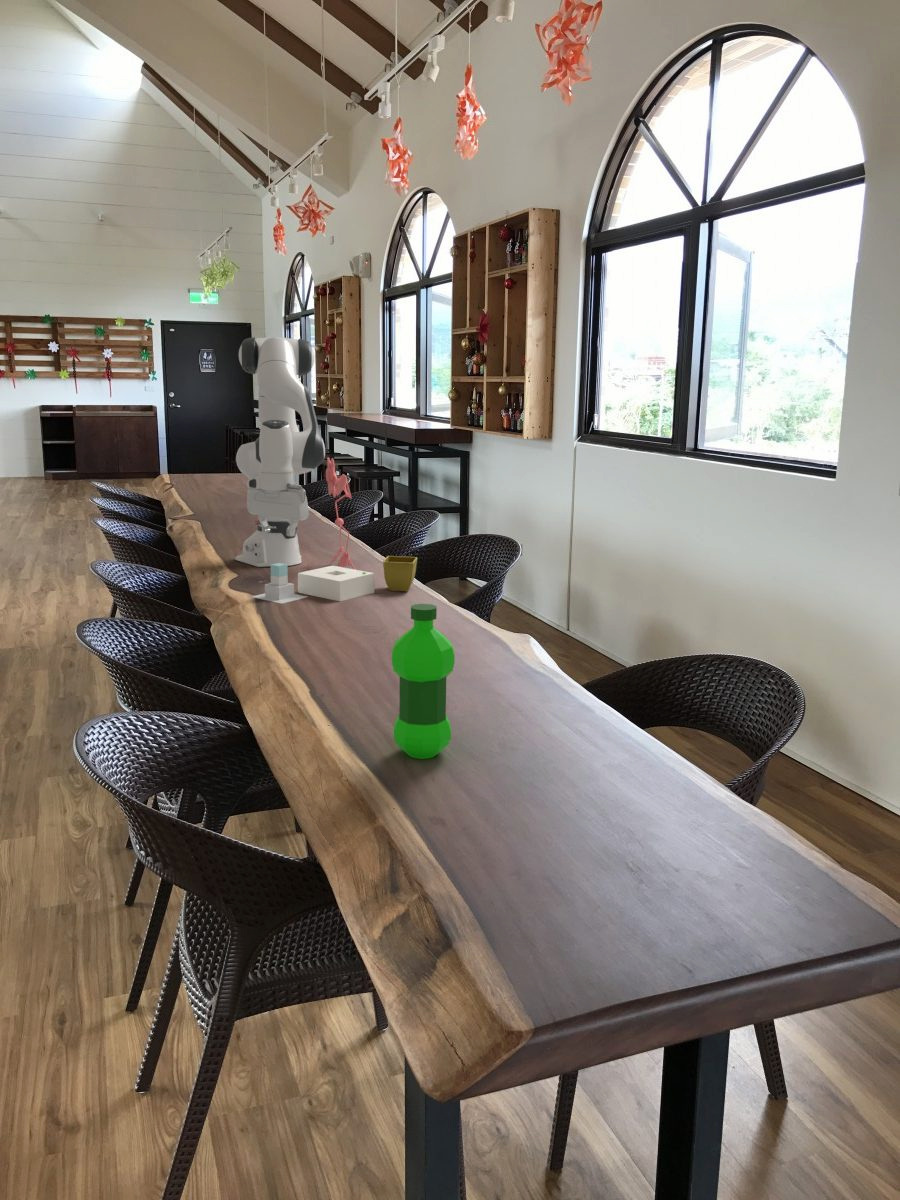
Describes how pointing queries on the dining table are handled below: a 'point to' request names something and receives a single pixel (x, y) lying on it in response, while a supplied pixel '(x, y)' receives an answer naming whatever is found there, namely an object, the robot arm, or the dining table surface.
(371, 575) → the port
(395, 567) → the flower pot
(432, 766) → the dining table surface
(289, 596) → the holster
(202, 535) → the dining table surface
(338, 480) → the figurine
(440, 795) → the dining table surface
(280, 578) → the plug
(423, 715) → the plastic bottle
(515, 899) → the dining table surface
